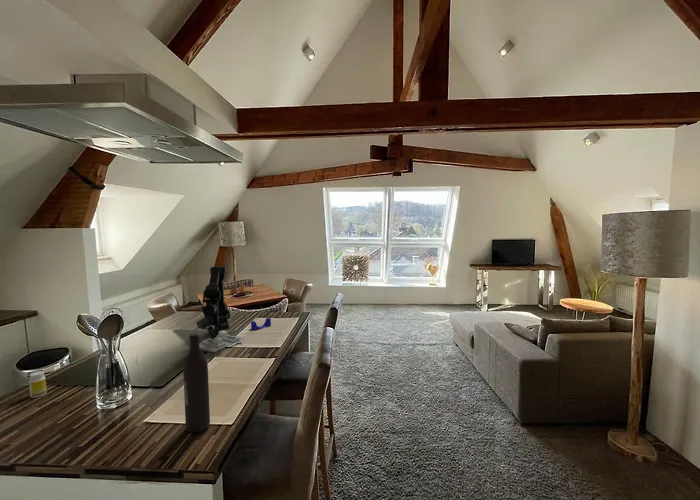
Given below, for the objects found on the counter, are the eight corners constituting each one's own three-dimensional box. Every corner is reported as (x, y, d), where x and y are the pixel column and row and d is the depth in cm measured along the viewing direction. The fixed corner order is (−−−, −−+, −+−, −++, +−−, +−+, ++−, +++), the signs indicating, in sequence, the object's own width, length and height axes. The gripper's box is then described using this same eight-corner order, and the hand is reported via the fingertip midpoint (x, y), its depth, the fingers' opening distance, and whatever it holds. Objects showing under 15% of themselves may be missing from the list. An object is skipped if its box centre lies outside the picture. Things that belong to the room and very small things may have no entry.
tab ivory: (218, 337, 190) (218, 331, 190) (222, 336, 192) (222, 329, 192) (223, 339, 188) (223, 332, 188) (227, 337, 190) (227, 330, 190)
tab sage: (213, 344, 179) (213, 337, 178) (217, 343, 181) (217, 336, 181) (218, 346, 177) (218, 338, 176) (222, 344, 179) (222, 337, 179)
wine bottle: (198, 418, 113) (194, 330, 111) (214, 423, 110) (211, 332, 108) (180, 430, 106) (176, 336, 104) (197, 435, 104) (194, 339, 102)
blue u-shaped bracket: (255, 332, 204) (254, 322, 204) (251, 331, 207) (251, 321, 207) (272, 328, 213) (272, 318, 213) (268, 326, 216) (268, 317, 216)
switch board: (193, 347, 179) (193, 343, 179) (227, 336, 198) (227, 331, 198) (213, 353, 171) (213, 348, 171) (247, 340, 190) (247, 335, 190)
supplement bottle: (49, 392, 132) (48, 371, 131) (35, 398, 127) (34, 376, 126) (40, 391, 133) (39, 370, 132) (26, 396, 128) (24, 375, 128)
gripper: (187, 312, 177) (188, 342, 178) (211, 317, 167) (212, 348, 169) (206, 308, 187) (207, 336, 188) (229, 312, 177) (230, 341, 178)
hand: (213, 340), depth 180 cm, fingers closed
